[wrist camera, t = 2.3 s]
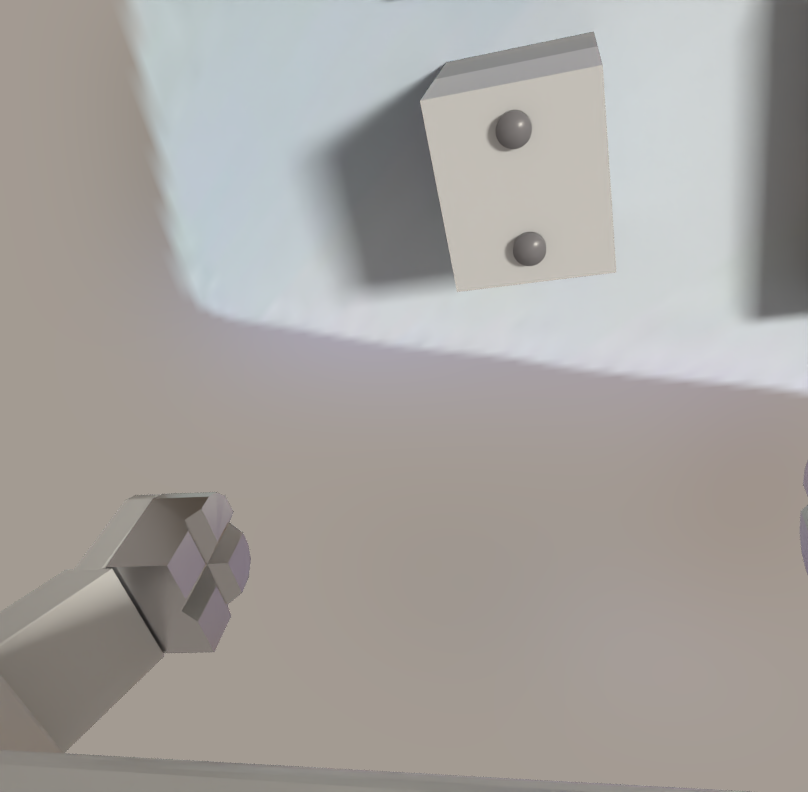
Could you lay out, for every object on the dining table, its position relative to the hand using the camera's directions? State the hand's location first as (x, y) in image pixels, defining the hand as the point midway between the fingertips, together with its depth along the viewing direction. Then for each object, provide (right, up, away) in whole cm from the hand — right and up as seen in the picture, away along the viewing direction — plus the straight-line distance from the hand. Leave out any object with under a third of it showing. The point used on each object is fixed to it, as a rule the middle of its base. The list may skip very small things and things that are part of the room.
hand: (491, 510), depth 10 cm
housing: (+3, +11, +16) cm, 20 cm away
